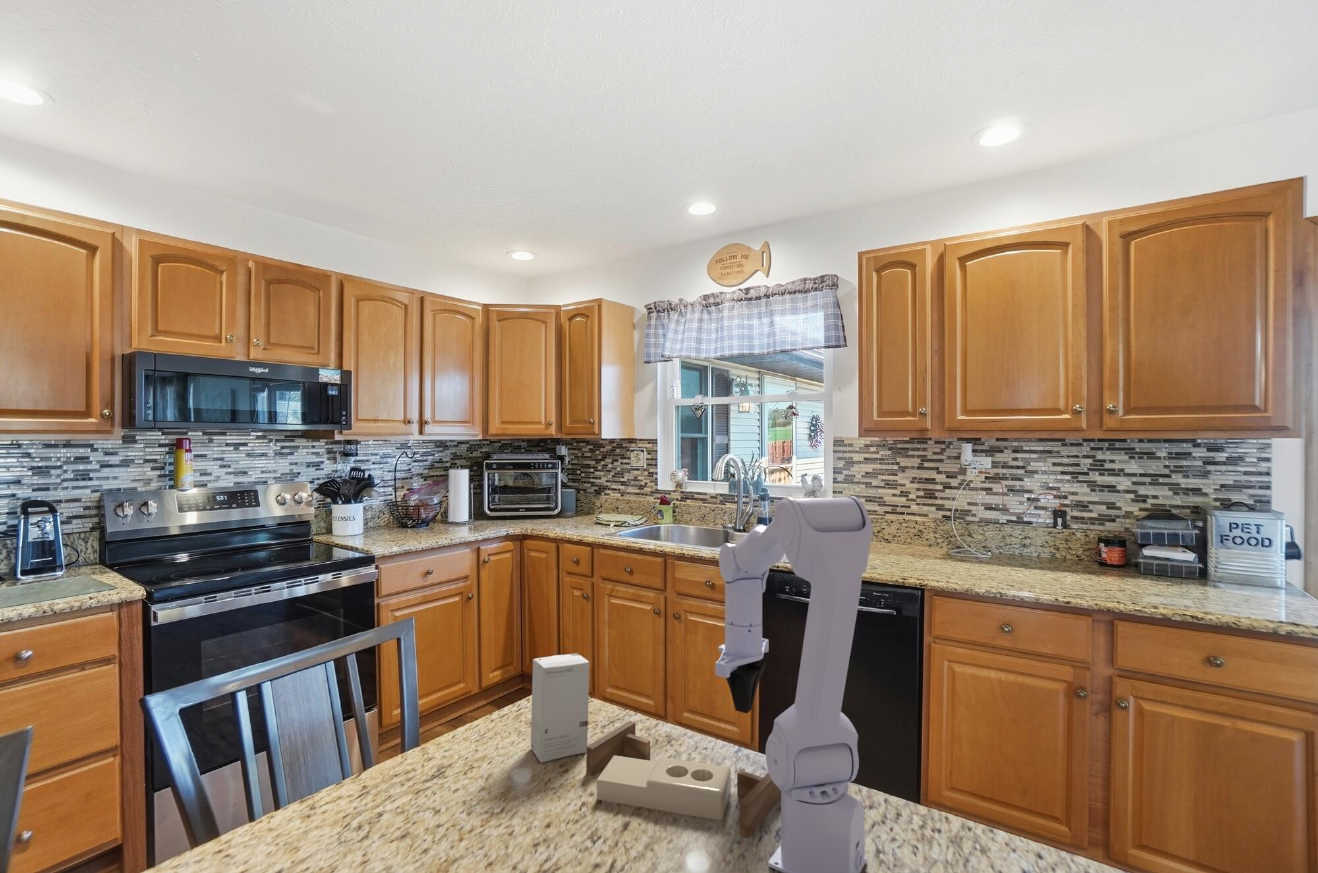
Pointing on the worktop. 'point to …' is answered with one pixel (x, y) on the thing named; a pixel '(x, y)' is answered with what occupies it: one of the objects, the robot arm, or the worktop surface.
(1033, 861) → the worktop surface
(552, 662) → the skincare box
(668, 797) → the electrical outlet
